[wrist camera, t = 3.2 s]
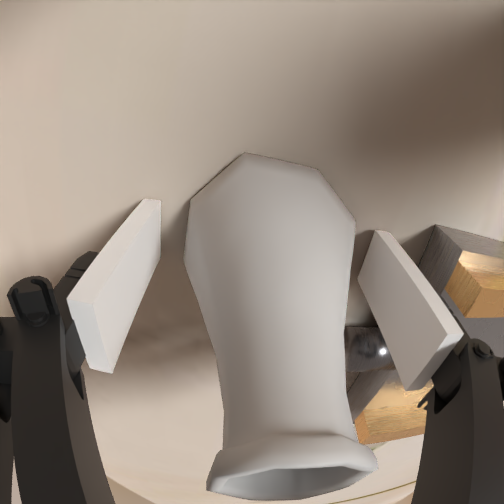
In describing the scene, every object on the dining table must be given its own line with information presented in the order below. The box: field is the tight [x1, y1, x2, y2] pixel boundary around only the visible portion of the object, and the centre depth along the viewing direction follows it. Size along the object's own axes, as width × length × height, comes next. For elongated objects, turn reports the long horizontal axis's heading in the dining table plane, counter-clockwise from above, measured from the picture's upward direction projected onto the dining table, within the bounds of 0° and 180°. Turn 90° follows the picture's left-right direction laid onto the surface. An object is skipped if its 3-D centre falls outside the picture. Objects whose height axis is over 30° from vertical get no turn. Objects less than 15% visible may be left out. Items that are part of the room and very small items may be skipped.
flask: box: [183, 152, 378, 500], centre depth 9 cm, size 7×7×10 cm
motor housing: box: [344, 225, 504, 445], centre depth 14 cm, size 14×15×4 cm
